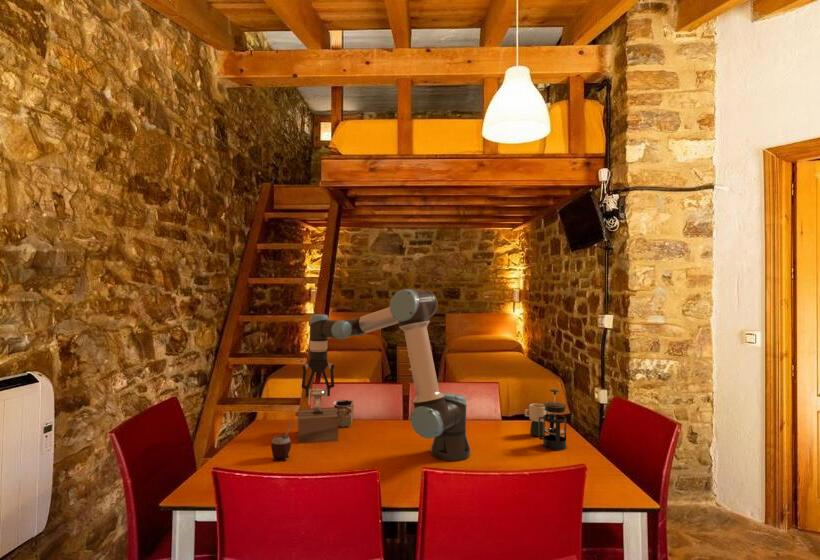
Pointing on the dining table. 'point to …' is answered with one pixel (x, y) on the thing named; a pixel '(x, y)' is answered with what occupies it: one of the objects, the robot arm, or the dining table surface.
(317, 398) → the steel pin
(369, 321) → the robot arm
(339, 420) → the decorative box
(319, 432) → the hitch block
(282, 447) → the mate gourd
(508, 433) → the dining table surface
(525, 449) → the dining table surface
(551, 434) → the french press
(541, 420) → the character mug
